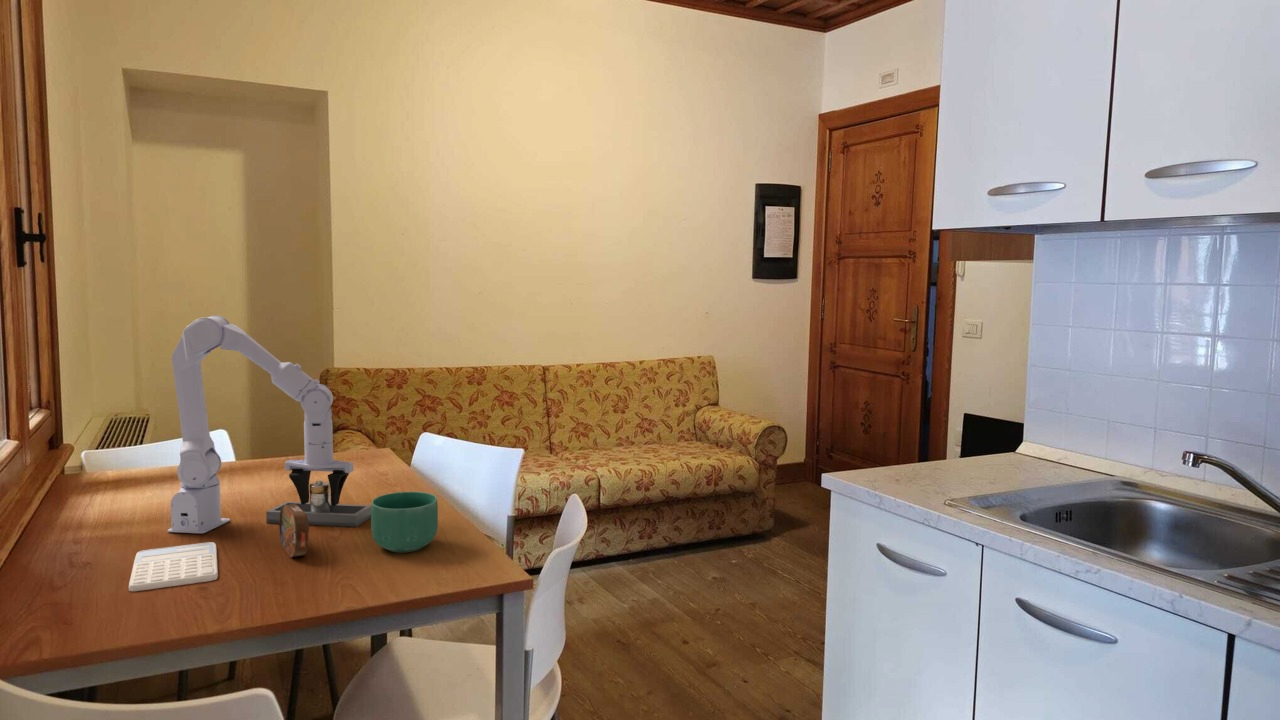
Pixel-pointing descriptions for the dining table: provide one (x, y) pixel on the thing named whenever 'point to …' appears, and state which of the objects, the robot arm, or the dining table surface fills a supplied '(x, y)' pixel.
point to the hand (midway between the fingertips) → (320, 503)
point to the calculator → (174, 566)
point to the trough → (327, 514)
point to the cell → (320, 497)
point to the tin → (293, 530)
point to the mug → (404, 520)
